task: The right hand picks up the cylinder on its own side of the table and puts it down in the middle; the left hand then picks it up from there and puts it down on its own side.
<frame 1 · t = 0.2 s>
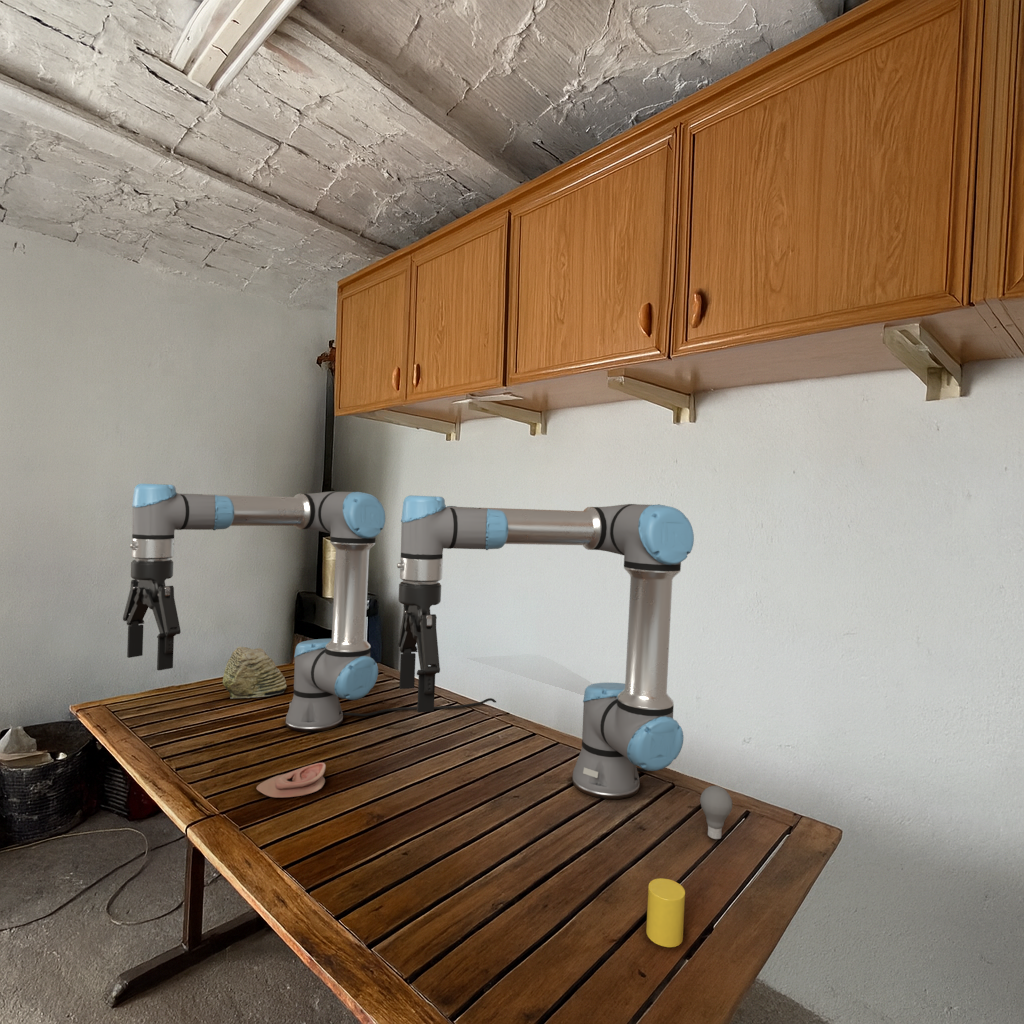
left hand: (149, 662, 130), 28 cm above the table, tool pointing down, fingers open, 13 cm apart
right hand: (415, 699, 114), 28 cm above the table, tool pointing down, fingers open, 13 cm apart
cylinder: (664, 935, 95), on the table
anatomical model: (291, 787, 137), on the table
light bulb: (714, 838, 124), on the table
fossil: (254, 694, 198), on the table
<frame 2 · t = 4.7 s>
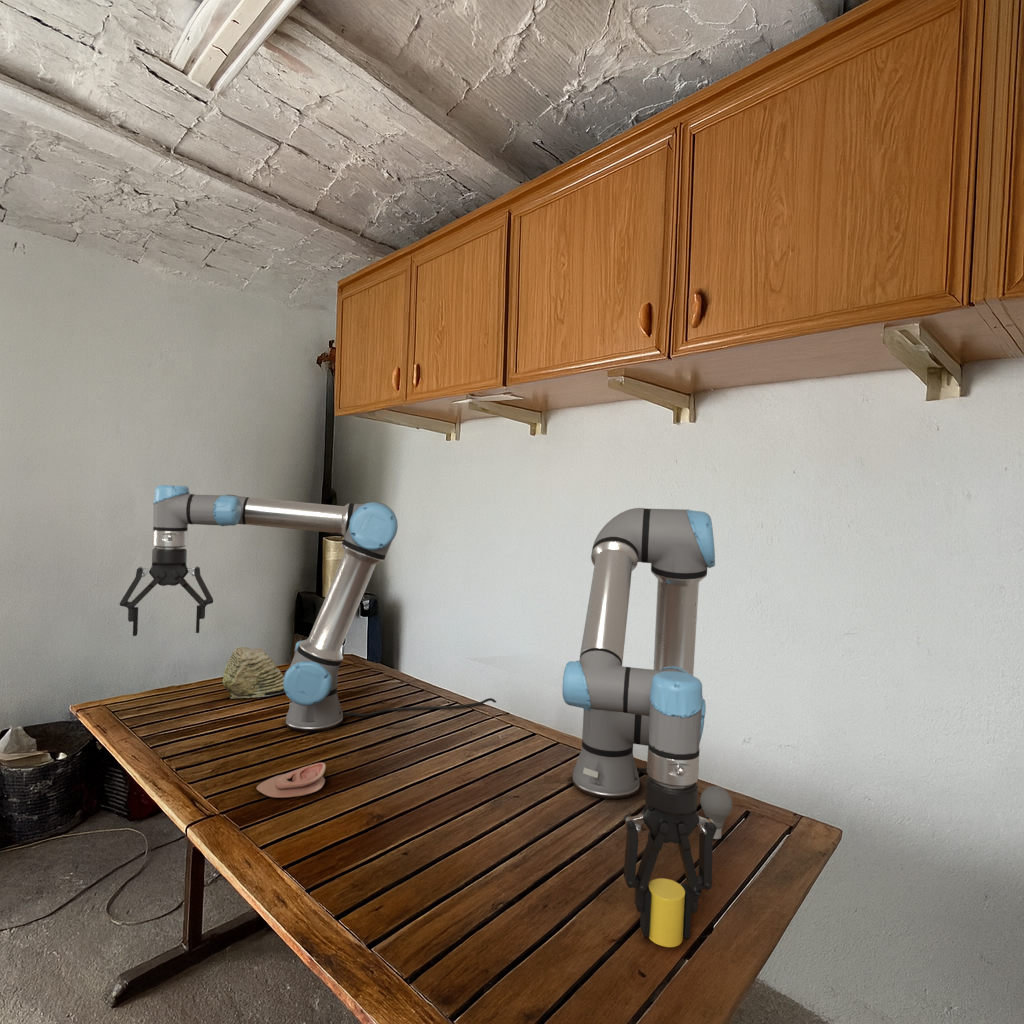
left hand: (166, 633, 157), 28 cm above the table, tool pointing down, fingers open, 13 cm apart
right hand: (664, 931, 95), 1 cm above the table, tool pointing down, fingers closed on cylinder, 5 cm apart
cylinder: (664, 935, 95), on the table, touching right hand
everything else where it was.
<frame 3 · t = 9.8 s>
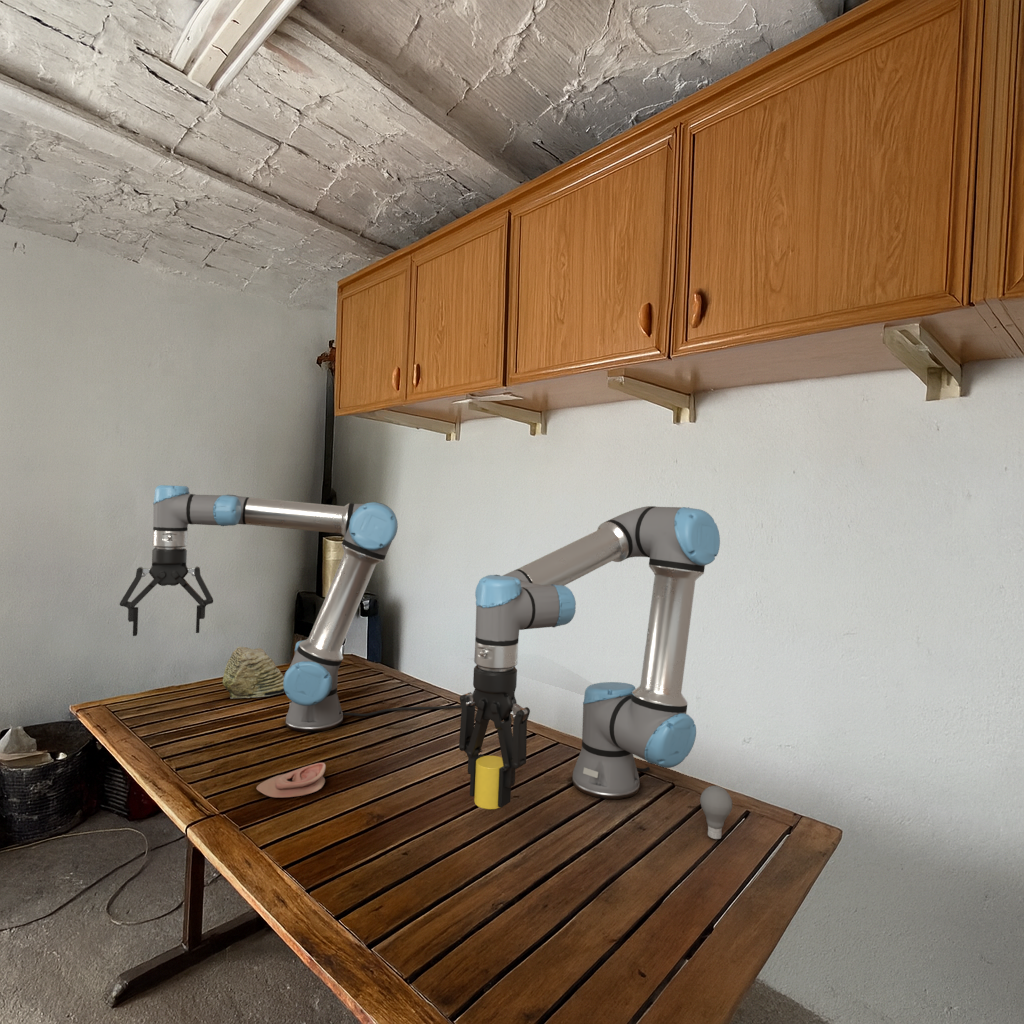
left hand: (166, 633, 157), 28 cm above the table, tool pointing down, fingers open, 13 cm apart
right hand: (489, 798, 110), 12 cm above the table, tool pointing down, fingers closed on cylinder, 5 cm apart
cylinder: (489, 801, 110), point 12 cm above the table, touching right hand
everything else where it was.
when the right hand's fingers open (2 cm above the table, at t = 14.7 s): cylinder drops 1 cm, on the table.
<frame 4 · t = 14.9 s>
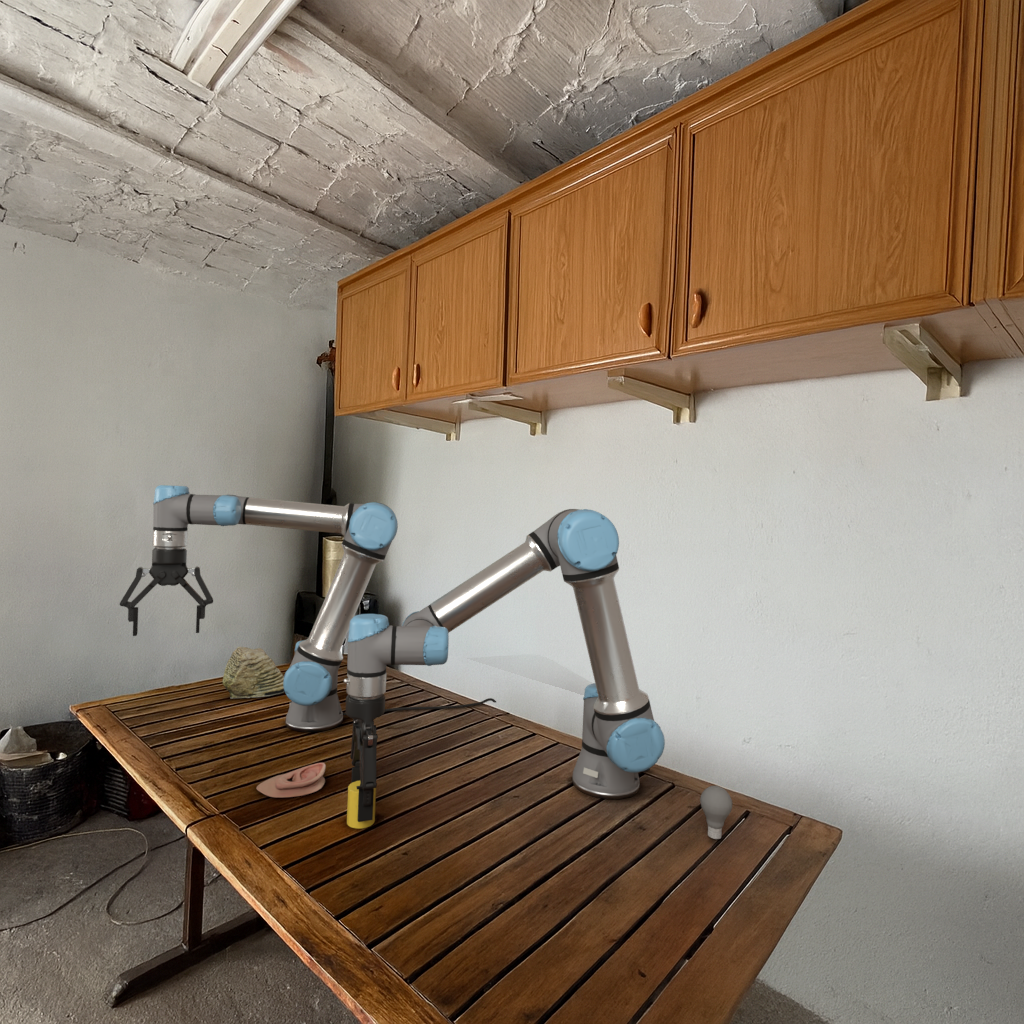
left hand: (166, 633, 157), 28 cm above the table, tool pointing down, fingers open, 13 cm apart
right hand: (361, 809, 124), 2 cm above the table, tool pointing down, fingers open, 8 cm apart
cylinder: (360, 821, 124), on the table
everything else where it was.
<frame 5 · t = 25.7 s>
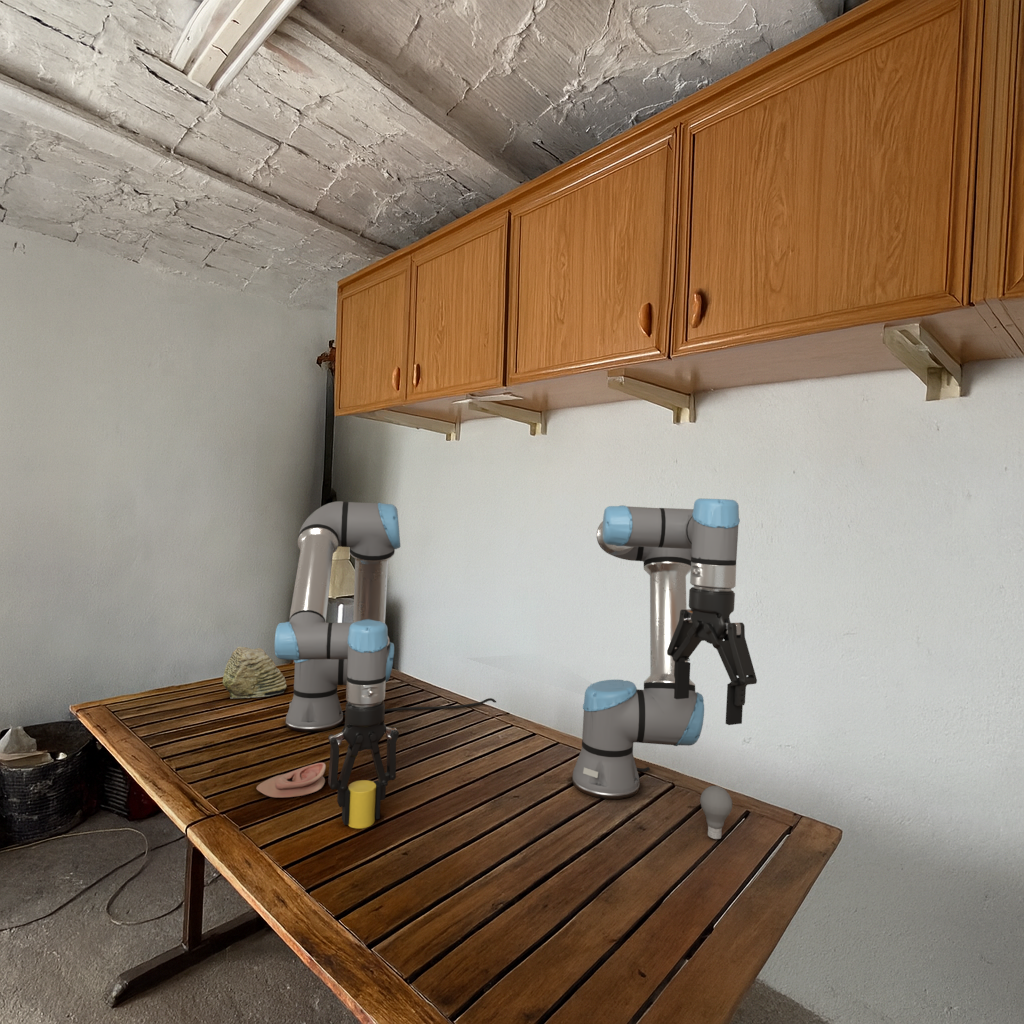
left hand: (360, 818, 124), 1 cm above the table, tool pointing down, fingers closed on cylinder, 5 cm apart
right hand: (706, 710, 110), 29 cm above the table, tool pointing down, fingers open, 13 cm apart
cylinder: (360, 821, 124), on the table, touching left hand
everything else where it was.
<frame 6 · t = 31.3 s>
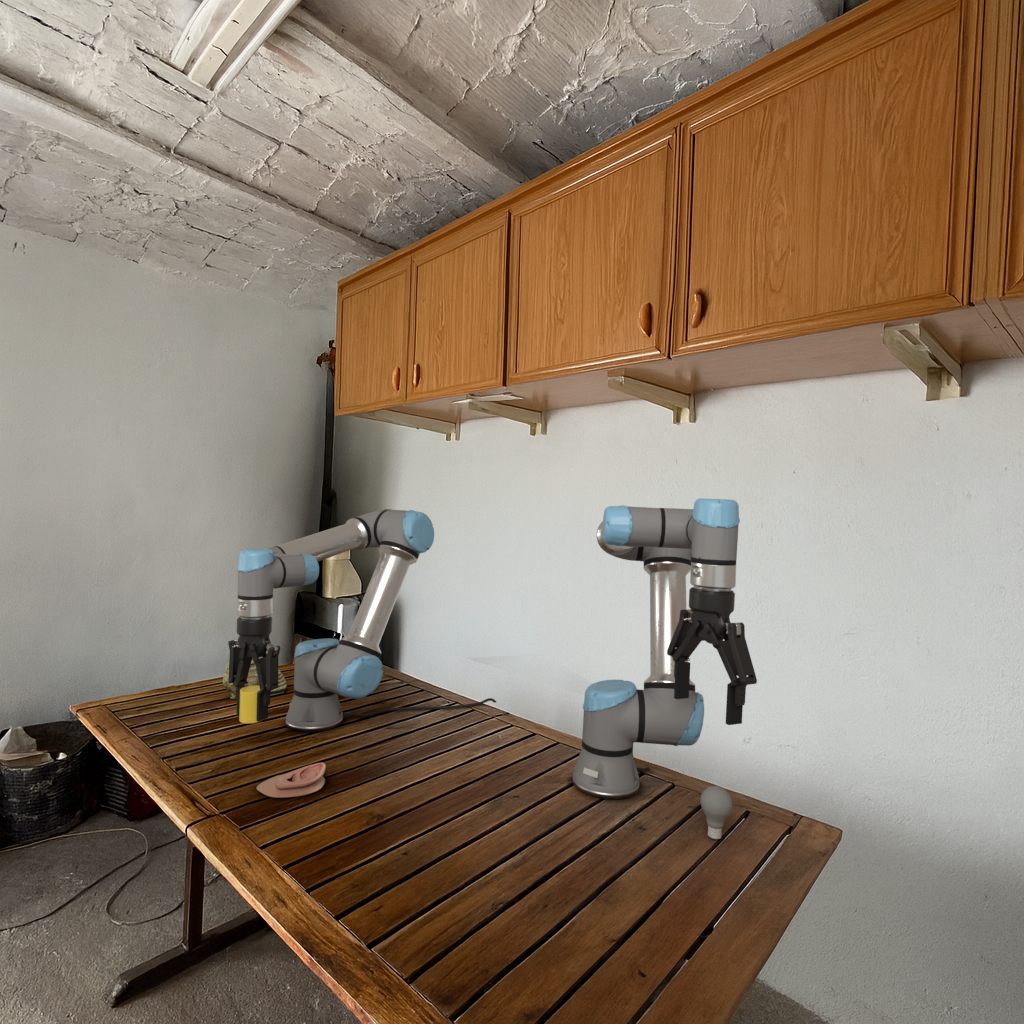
left hand: (252, 716, 145), 12 cm above the table, tool pointing down, fingers closed on cylinder, 5 cm apart
right hand: (706, 710, 110), 29 cm above the table, tool pointing down, fingers open, 13 cm apart
cylinder: (251, 719, 145), point 12 cm above the table, touching left hand
everything else where it was.
when the left hand's fingers open (2 cm above the table, at t = 37.1 s): cylinder drops 1 cm, on the table.
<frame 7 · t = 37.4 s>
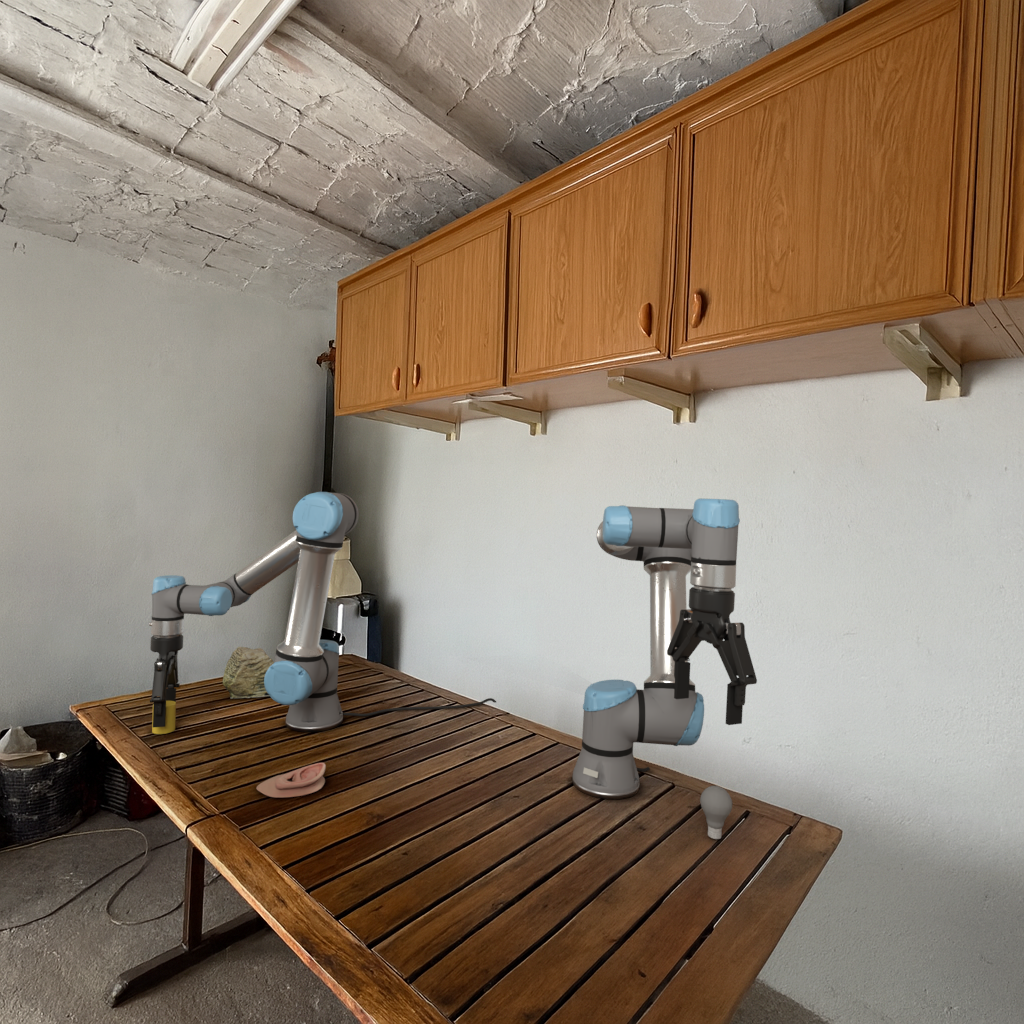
left hand: (164, 719, 166), 3 cm above the table, tool pointing down, fingers open, 10 cm apart
right hand: (706, 710, 110), 29 cm above the table, tool pointing down, fingers open, 13 cm apart
cylinder: (163, 730, 166), on the table
everything else where it was.
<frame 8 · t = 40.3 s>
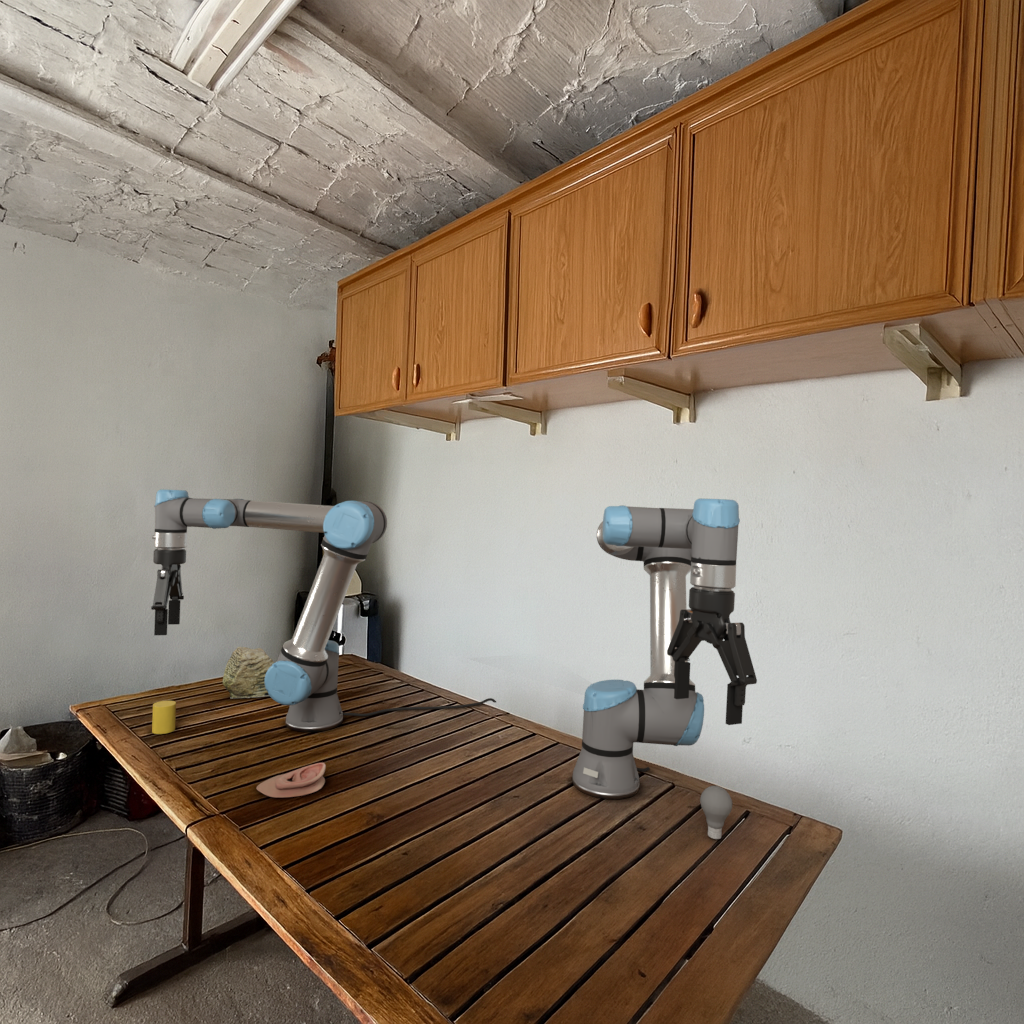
left hand: (167, 629, 166), 27 cm above the table, tool pointing down, fingers open, 13 cm apart
right hand: (706, 710, 110), 29 cm above the table, tool pointing down, fingers open, 13 cm apart
nothing on the table moved.
at the end: cylinder inside the target area (0.1 cm from its centre), on the table; cylinder tilted 0°; the two hands never held the cylinder at the same time; the left hand is holding nothing; the right hand is holding nothing; cylinder at rest at the end (0.0 cm/s) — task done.
